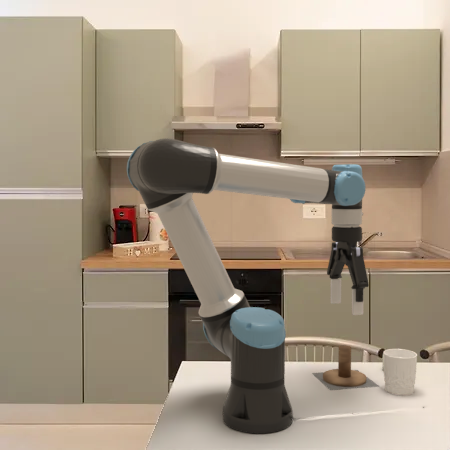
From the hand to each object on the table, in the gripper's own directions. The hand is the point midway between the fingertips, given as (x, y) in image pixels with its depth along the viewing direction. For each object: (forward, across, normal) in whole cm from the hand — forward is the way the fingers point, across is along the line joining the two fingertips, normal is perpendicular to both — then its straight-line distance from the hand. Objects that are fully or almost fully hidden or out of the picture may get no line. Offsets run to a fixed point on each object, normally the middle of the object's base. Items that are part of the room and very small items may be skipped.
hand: (346, 308), depth 149 cm
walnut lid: (+18, 0, 0) cm, 18 cm away
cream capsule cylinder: (+19, +4, -16) cm, 25 cm away
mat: (+19, 0, 0) cm, 19 cm away
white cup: (+20, -10, -10) cm, 24 cm away
